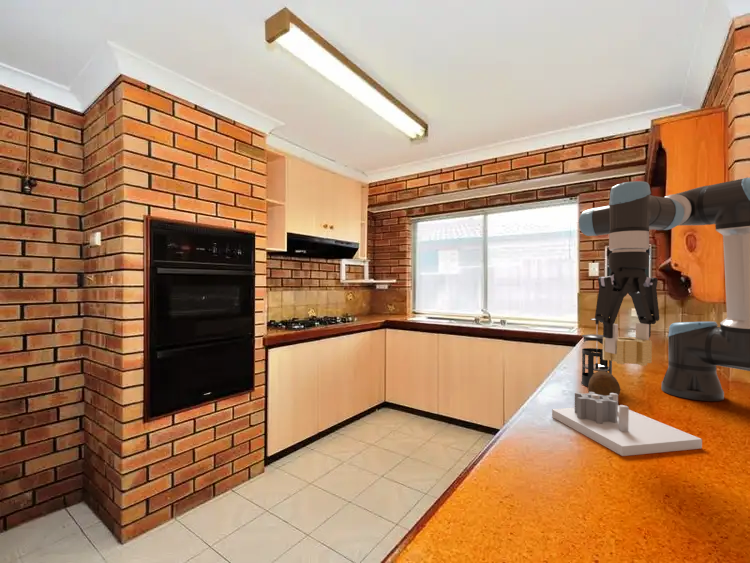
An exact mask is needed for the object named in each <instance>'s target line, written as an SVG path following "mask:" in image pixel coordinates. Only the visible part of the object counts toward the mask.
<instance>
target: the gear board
mask: <svg viewBox="0 0 750 563" xmlns="http://www.w3.org/2000/svg"><path fill="white" fill-rule="evenodd" d="M551 417H552V418H553V419H555V420H557V421H559V422H561V423H562V424H564V425H566V426H567V427H570V428H571V429H572V430H575V431H577V432H578V433H580V434H582V435H584V436H585V437H587V438H588V439H590V440H593V441H594V442H597V443H598V444H600V445H602V446H604V447H605V448H608V449H609V450H610V451H612V452H615V453H616V454H618V455H620V456H622V457H626V456H635V455H636V456H639V455H645V454H656V453H668V452H676V451H677V452H678V451H687V450H688V451H690V450H697V449H699V450H700V449H703V438H700V437H698V436H695V435H692V434H690V433H688V432H685V431H683V430H681V429H678V428H675V427H674V426H671V425H668V424H666V423H663V422H661V421H658V420H656V419H653V418H650V417H649V416H645V415H644V414H641V413H638V412H637V411H636V412H635V411H634V410H631V409H630V408H629V406H627V405H623V404H620V405H619V396H618V394H616V393H610V395H607V396H603V395H599V394H595V393H594V392H586V393H581V392H578V391H576V392H575V393H574V407H569V408H554V409H552V410H551Z"/></svg>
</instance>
